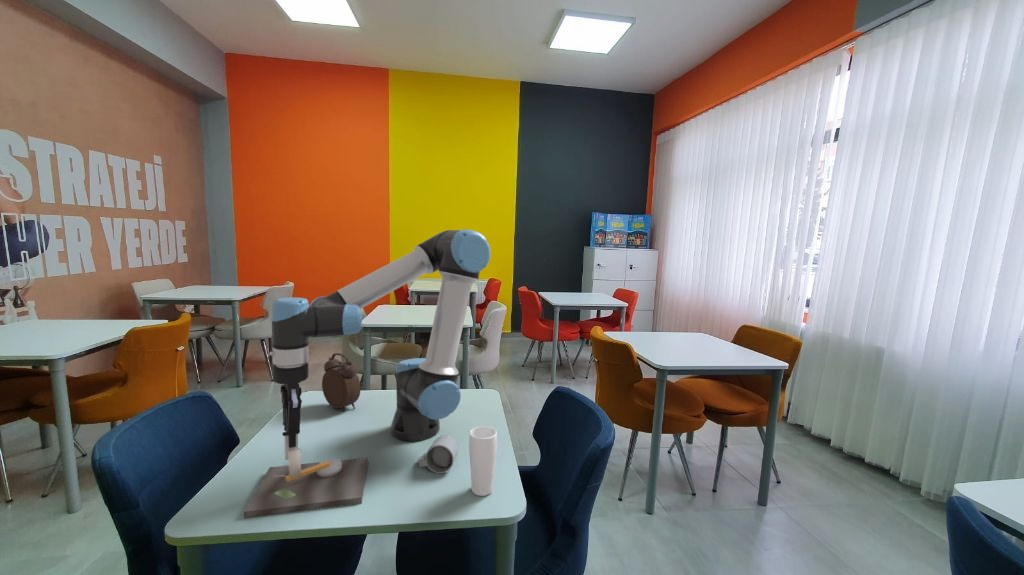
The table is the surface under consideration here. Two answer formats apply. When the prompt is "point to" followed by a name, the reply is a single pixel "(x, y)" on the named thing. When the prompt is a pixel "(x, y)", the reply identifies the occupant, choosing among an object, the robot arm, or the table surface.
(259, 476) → the table surface
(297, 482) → the dial plate
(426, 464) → the ceramic mug
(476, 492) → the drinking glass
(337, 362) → the alarm clock
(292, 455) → the dial
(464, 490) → the table surface
